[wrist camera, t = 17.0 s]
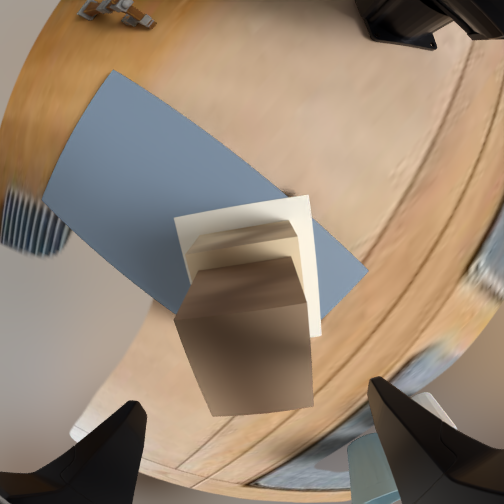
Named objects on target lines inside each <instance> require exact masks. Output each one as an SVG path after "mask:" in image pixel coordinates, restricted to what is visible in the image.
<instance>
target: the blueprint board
mask: <svg viewBox="0 0 504 504" xmlns="http://www.w3.org/2000/svg"><path fill="white" fill-rule="evenodd" d="M42 201H43V202H44V203H45V204H46V205H47V206H48V207H49V208H50V209H51V210H52V211H53V212H54V213H55V214H56V215H57V216H58V217H59V218H60V219H61V220H62V221H63V222H64V223H65V224H66V225H67V226H68V227H69V228H70V229H72V230H73V231H74V232H75V233H76V234H77V235H78V236H79V237H80V238H81V239H82V240H84V241H85V242H86V243H87V244H88V245H89V246H90V247H91V248H93V249H94V250H95V251H96V252H97V253H98V254H99V255H101V256H102V257H103V258H104V259H105V260H106V261H108V262H109V263H110V264H111V265H112V266H114V267H115V268H116V269H117V270H118V271H120V272H121V273H122V274H123V275H125V276H126V277H127V278H128V279H129V280H131V281H132V282H133V283H134V284H136V285H137V286H138V287H140V288H141V289H142V290H144V291H145V292H146V293H147V294H149V295H150V296H151V297H153V298H154V299H155V300H157V301H158V302H159V303H161V304H162V305H163V306H165V307H166V308H167V309H169V310H170V311H172V312H173V313H174V314H177V312H178V310H179V308H180V306H181V304H182V302H183V300H184V298H185V296H186V294H187V292H188V290H189V288H190V286H191V284H192V280H191V276H190V272H189V269H188V265H187V261H186V257H185V254H186V253H187V251H188V250H189V249H190V247H191V246H192V245H193V243H194V242H195V241H196V239H197V238H198V237H199V235H204V234H210V233H215V232H221V231H227V230H233V229H239V228H244V227H250V226H257V225H263V224H269V223H275V222H281V221H288V220H289V221H290V223H291V225H292V227H293V229H294V230H295V232H296V234H297V236H298V242H299V250H300V258H301V266H302V275H303V284H304V294H305V298H306V301H307V307H308V319H309V332H310V338H311V337H317V336H321V319H322V318H323V317H324V316H325V315H326V314H328V313H329V312H330V311H331V310H332V309H333V308H334V307H335V306H336V305H337V304H338V303H339V302H340V301H341V300H342V299H343V298H344V297H345V296H346V295H347V294H348V292H349V291H350V290H351V289H352V288H353V287H354V286H355V285H356V284H357V283H358V282H359V281H360V280H361V279H362V278H363V277H364V276H365V275H366V273H367V272H368V269H367V268H366V267H365V266H364V265H363V264H362V263H361V262H360V261H359V260H357V259H356V258H355V257H354V256H353V255H352V254H351V253H350V252H349V251H348V250H347V249H346V248H345V247H344V246H343V245H342V244H341V243H339V242H338V241H337V240H336V239H335V238H334V237H333V236H332V235H331V234H330V233H329V232H327V231H326V230H325V229H324V228H323V227H322V226H321V225H320V224H319V223H318V222H316V221H315V220H314V219H313V218H312V216H311V208H310V201H309V195H302V196H295V197H288V196H286V195H285V194H284V193H283V192H282V191H281V190H279V189H278V188H277V187H276V186H275V185H273V184H272V183H271V182H270V181H269V180H267V179H266V178H265V177H264V176H262V175H261V174H260V173H259V172H257V171H256V170H255V169H254V168H252V167H251V166H250V165H249V164H247V163H246V162H245V161H244V160H242V159H241V158H240V157H239V156H237V155H236V154H235V153H233V152H232V151H231V150H230V149H228V148H227V147H226V146H224V145H223V144H222V143H220V142H219V141H218V140H216V139H215V138H214V137H212V136H211V135H210V134H208V133H207V132H206V131H204V130H203V129H202V128H200V127H199V126H197V125H196V124H195V123H193V122H192V121H191V120H189V119H188V118H186V117H185V116H183V115H182V114H181V113H179V112H178V111H176V110H175V109H173V108H172V107H171V106H169V105H168V104H166V103H165V102H163V101H162V100H160V99H159V98H157V97H156V96H154V95H153V94H151V93H150V92H148V91H147V90H145V89H144V88H142V87H141V86H139V85H138V84H136V83H134V82H133V81H131V80H130V79H128V78H127V77H125V76H123V75H122V74H120V73H118V72H117V71H115V70H112V72H111V73H110V75H109V76H108V77H107V79H106V80H105V81H104V83H103V84H102V86H101V87H100V89H99V90H98V92H97V93H96V95H95V96H94V98H93V99H92V101H91V102H90V104H89V105H88V107H87V109H86V110H85V112H84V113H83V115H82V117H81V118H80V120H79V122H78V124H77V125H76V127H75V129H74V131H73V133H72V134H71V136H70V138H69V140H68V142H67V144H66V146H65V148H64V150H63V152H62V154H61V156H60V158H59V160H58V162H57V164H56V166H55V169H54V171H53V173H52V175H51V178H50V180H49V182H48V185H47V187H46V190H45V192H44V195H43V197H42Z"/></svg>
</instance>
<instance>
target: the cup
mask: <svg viewBox="0 0 504 504" xmlns="http://www.w3.org/2000/svg"><path fill="white" fill-rule="evenodd" d="M347 452H348V462H349V473H350V485H351V500H352V504H391V503H393V502H395V501H397V500H399V499H401V498H400V495H399V492H398V489H397V486H396V483H395V481H394V478H393V475H392V472H391V469H390V466H389V464H388V461H387V458H386V456H385V453H384V450H383V447H382V445H381V442H380V440H379V437H378V434H377V433H372V434H368V435H365V436H362V437H360V438H358V439H356V440H355V441H353V442H352V443H351V444H350V445H349V446H348V449H347Z"/></svg>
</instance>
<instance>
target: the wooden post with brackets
mask: <svg viewBox="0 0 504 504" xmlns="http://www.w3.org/2000/svg"><path fill="white" fill-rule="evenodd" d="M132 4H133V1H132V0H105V1H102V2H101V3H98V2H96V1H94V0H87V1H86V3H85V4H84V5H83V6H82V8H81V9H80V10H79V12H78V13H77V14H78V15H80V16H82V17H84V18H85V19H87V20H89V21H90V20H93V18H94V17H95V16H96V14H99V13H103V14H105V13H112V12H113V11H117V12H123V13H126V15H125V17H124V18H123V19H122V20H121V21H122V22H123V23H125V24H126V25H132V26H134V27H135V26H136V25H137V24H138V23H140V24H141V25H144V26H146V27H147V28H149V29H153V28H154V26H155V25H156V24H157V23H156V22H155V21H154V20H152V18H151V17H150V16H148V15H147V14H143V13H142V12H141V11H139V10H138V9H136V8H135V7H133V6H132Z"/></svg>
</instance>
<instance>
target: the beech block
mask: <svg viewBox="0 0 504 504" xmlns="http://www.w3.org/2000/svg"><path fill="white" fill-rule="evenodd" d="M290 256H291V258H292V260H293V263H294V266H295V269H296V272H297V275H298V278H299V280H300V283H301V286H302V289H303V292H304V284H303V275H302V266H301V258H300V250H299V242H298V236H297V234H296V232H295V230H294V229H293V227H292V225H291V223H290V221H289V220H288V221H281V222H275V223H269V224H263V225H257V226H250V227H244V228H239V229H233V230H227V231H221V232H215V233H210V234H204V235H199V237H198V238H197V239H196V241H195V242H194V243H193V245H192V246H191V247H190V249H189V250H188V251H187V253H186V254H185V257H186V261H187V265H188V269H189V272H190V276H191V280H192V282H193V280H194V278H195V276H196V274H197V272H198V271H199V270H206V269H212V268H219V267H226V266H232V265H239V264H245V263H252V262H258V261H265V260H271V259H278V258H284V257H290ZM304 295H305V294H304Z"/></svg>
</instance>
